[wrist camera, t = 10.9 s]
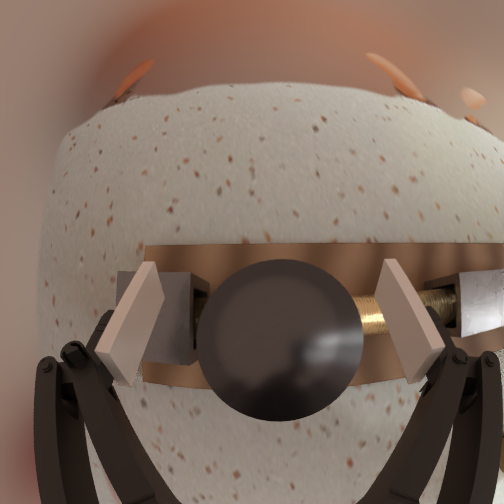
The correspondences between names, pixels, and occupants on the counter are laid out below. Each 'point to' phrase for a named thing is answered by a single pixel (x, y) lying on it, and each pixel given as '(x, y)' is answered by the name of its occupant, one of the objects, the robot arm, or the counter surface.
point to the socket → (172, 317)
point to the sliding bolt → (288, 337)
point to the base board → (348, 274)
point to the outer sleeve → (474, 300)
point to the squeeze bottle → (502, 456)
